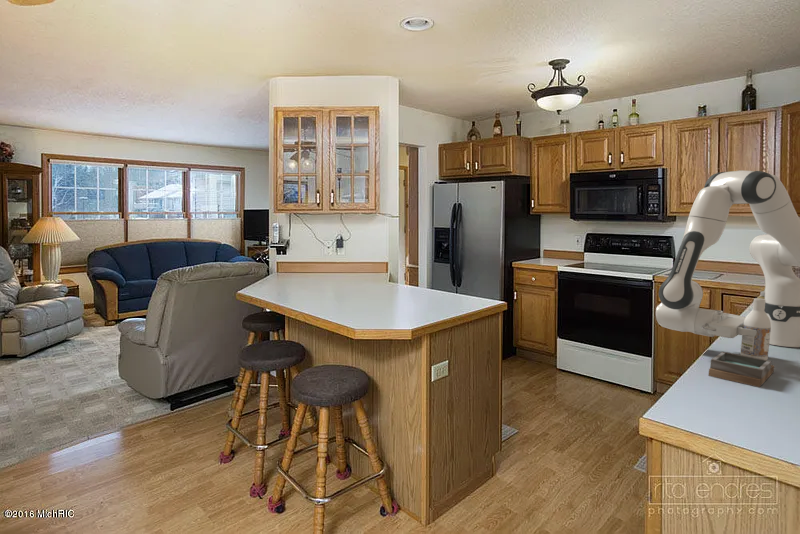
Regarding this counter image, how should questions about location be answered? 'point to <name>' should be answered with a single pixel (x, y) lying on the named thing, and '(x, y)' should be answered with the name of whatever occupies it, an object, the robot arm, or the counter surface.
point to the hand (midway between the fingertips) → (759, 330)
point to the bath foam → (762, 324)
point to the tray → (741, 368)
